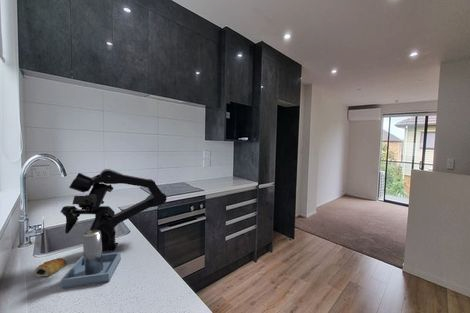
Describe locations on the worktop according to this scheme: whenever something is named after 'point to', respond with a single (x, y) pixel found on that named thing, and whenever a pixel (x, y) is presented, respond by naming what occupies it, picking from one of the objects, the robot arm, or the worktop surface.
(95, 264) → the canister
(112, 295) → the worktop surface
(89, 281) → the bin
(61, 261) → the pastry
